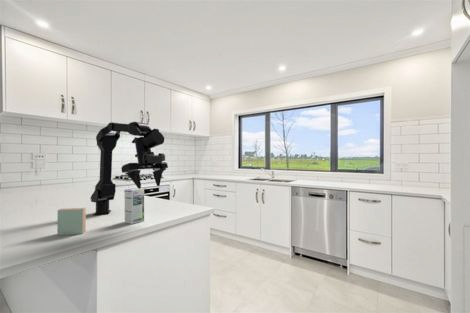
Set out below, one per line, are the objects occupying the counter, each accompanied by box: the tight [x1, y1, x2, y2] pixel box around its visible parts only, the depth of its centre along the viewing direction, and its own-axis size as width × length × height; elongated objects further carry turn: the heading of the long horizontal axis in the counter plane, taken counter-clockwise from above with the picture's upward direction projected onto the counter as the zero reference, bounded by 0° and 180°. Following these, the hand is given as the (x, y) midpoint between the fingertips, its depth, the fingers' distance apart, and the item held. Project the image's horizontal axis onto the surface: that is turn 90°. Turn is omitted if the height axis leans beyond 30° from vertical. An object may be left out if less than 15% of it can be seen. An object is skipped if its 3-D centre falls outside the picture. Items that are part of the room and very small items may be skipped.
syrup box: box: [124, 186, 145, 225], centre depth 91 cm, size 6×6×14 cm
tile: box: [56, 207, 87, 236], centre depth 77 cm, size 2×8×9 cm, turn 103°
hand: (149, 187), depth 87 cm, fingers open, 9 cm apart
